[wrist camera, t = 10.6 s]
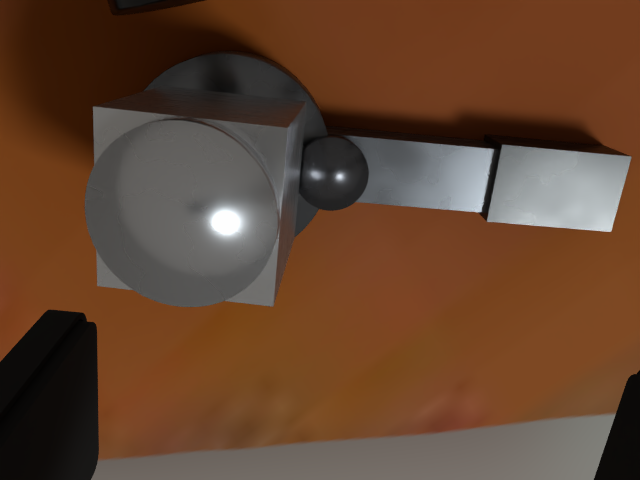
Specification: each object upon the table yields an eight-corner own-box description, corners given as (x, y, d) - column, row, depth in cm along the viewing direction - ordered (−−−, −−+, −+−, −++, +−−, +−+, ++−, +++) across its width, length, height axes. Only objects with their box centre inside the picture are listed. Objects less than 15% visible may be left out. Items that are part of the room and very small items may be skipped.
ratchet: (618, 89, 29) (713, 110, 22) (573, 264, 32) (645, 327, 26) (138, 40, 27) (89, 47, 21) (138, 229, 30) (96, 287, 24)
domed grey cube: (306, 101, 25) (284, 132, 18) (294, 238, 27) (269, 317, 20) (162, 85, 25) (81, 109, 18) (161, 222, 27) (87, 295, 20)
